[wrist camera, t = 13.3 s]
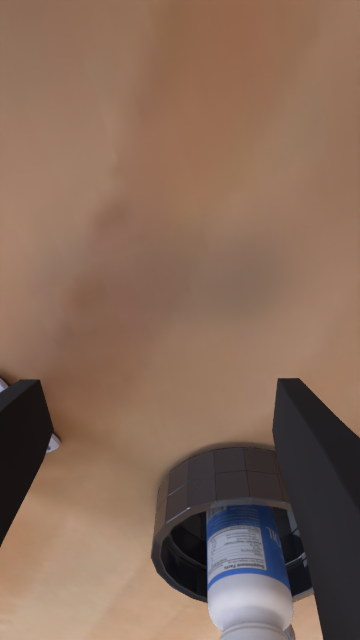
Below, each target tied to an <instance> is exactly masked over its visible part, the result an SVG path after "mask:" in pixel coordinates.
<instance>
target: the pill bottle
mask: <svg viewBox="0 0 360 640" xmlns="http://www.w3.org/2000/svg"><path fill="white" fill-rule="evenodd" d="M206 528H207V590H208V611H209V615H210V617H211V620H212V621H213V623H214V624H215V625H216V626H217V627H218V628H219V629H220V630H221V631H222V632H223V633H222V634H221V637H220V640H288V637H287V635H286V634H285V632H284V630H285V629H286V628H287V627H288V626H289V625H290V623H291V621H292V619H293V615H294V606H293V601H292V595H291V590H290V585H289V580H288V576H287V571H286V566H285V561H284V557H283V552H282V547H281V542H280V538H279V533H278V528H277V523H276V518H275V514H274V510H273V507H269V506H261V505H253V504H245V505H233V506H221V507H217V508H214V509H211V510H208V511H206Z"/></svg>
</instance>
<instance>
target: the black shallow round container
mask: <svg viewBox="0 0 360 640" xmlns="http://www.w3.org/2000/svg"><path fill="white" fill-rule="evenodd" d="M245 504H253V505H261V506H269V507H273V510H274V514H275V518H276V523H277V528H278V533H279V538H280V542H281V547H282V552H283V557H284V561H285V566H286V571H287V576H288V580H289V585H290V590H291V595H292V601H293V602H296V601H298V600H301V599H303V598H305V597H308V596H310V595H312V594H314V591H313V586H312V581H311V577H310V572H309V567H308V563H307V559H306V555H305V551H304V547H303V544H302V540H301V537H300V534H299V531H298V527H297V524H296V521H295V517H294V514H293V511H292V508H291V504H290V501H289V498H288V495H287V491H286V488H285V485H284V481H283V478H282V475H281V471H280V468H279V465H278V460H277V455H276V452H274V451H271V450H264V449H258V448H249V447H233V448H223V449H218V450H212V451H209V452H207V453H204V454H201V455H198V456H195V457H193V458H190V459H188V460H187V461H185V462H184V463H182V464H181V465H180V466H178V467H177V468H175V469H174V470H173V471H171V472H170V473H169V475H168V476H167V478H166V479H165V481H164V482H163V484H162V485H161V487H160V488H159V493H158V500H157V508H156V517H155V525H154V533H153V542H152V550H151V559H152V561H153V564H154V566H155V568H156V571H157V573H158V574H159V575H160V576H161V577H162V578H163V579H164V580H165V581H166V582H167V583H168V584H169V585H170V586H171V587H172V588H174V589H176V590H178V591H180V592H181V593H183V594H185V595H187V596H189V597H190V598H192V599H196V600H199V601H202V602H206V603H208V590H207V528H206V511H208V510H211V509H214V508H217V507H221V506H233V505H245Z"/></svg>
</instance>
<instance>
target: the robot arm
mask: <svg viewBox="0 0 360 640" xmlns="http://www.w3.org/2000/svg"><path fill="white" fill-rule="evenodd" d="M53 430H54V428H53V425H52V421H51V418H50V414H49V411H48V407H47V404H46V400H45V397H44V393H43V390H42V386H41V383H40V380H19V381H17V382H16V383H14V384H12V385H11V386H9V387H8V385H7V384H6V383H5V382H4V381H3V380H2V379H1V378H0V547H1V544H2V542H3V540H4V538H5V536H6V534H7V532H8V530H9V528H10V526H11V524H12V522H13V520H14V518H15V516H16V514H17V512H18V510H19V508H20V506H21V504H22V502H23V500H24V498H25V496H26V494H27V492H28V490H29V488H30V486H31V484H32V482H33V480H34V478H35V476H36V474H37V472H38V470H39V468H40V466H41V464H42V462H43V459H44V457H45V454H47V453H49V452H51V451H54V450H56V449H58V448H59V446H60V440H59V439H58V438H57V437H56V436H55V435H54V434H53ZM272 432H273V438H274V443H275V449H276V455H277V460H278V465H279V468H280V471H281V475H282V478H283V481H284V485H285V488H286V491H287V495H288V498H289V501H290V504H291V508H292V511H293V514H294V517H295V521H296V524H297V527H298V531H299V534H300V537H301V540H302V544H303V547H304V551H305V555H306V559H307V563H308V567H309V572H310V577H311V581H312V586H313V591H314V595H315V600H316V605H317V610H318V615H319V620H320V625H321V630H322V635H323V640H360V438H359V437H358V436H357V435H356V434H355V433H354V432H352V431H351V430H350V429H349V428H348V427H347V426H346V425H345V424H344V423H343V422H342V421H341V420H340V419H339V418H338V417H337V416H336V415H335V414H334V413H333V412H332V411H331V410H330V409H329V408H328V407H327V406H326V405H325V404H324V403H323V402H322V401H321V400H320V399H319V398H318V397H317V396H316V395H315V394H314V393H313V392H312V391H311V390H310V389H309V388H308V387H307V386H306V385H305V384H304V383H303V382H302V381H301V380H300V379H299V378H278V381H277V391H276V400H275V410H274V419H273V429H272Z"/></svg>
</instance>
